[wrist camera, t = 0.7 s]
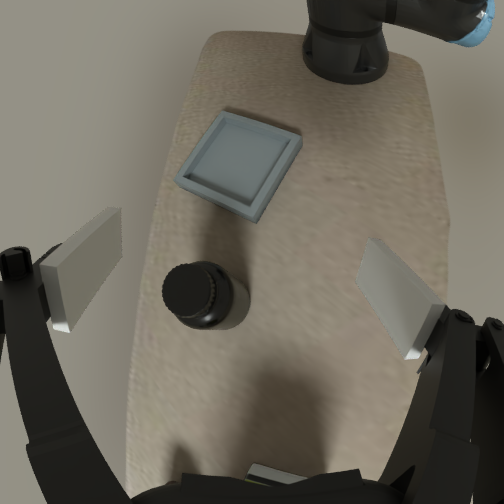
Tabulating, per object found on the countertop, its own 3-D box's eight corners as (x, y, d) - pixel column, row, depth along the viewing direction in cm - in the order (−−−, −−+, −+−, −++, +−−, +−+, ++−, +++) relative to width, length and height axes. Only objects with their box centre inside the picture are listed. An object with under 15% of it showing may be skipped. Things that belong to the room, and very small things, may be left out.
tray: (226, 119, 44) (222, 110, 42) (302, 145, 40) (301, 136, 38) (179, 187, 42) (173, 180, 40) (256, 223, 39) (252, 217, 36)
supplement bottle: (216, 340, 36) (172, 344, 25) (189, 294, 38) (138, 279, 27) (262, 310, 36) (237, 301, 24) (233, 264, 38) (197, 236, 27)
